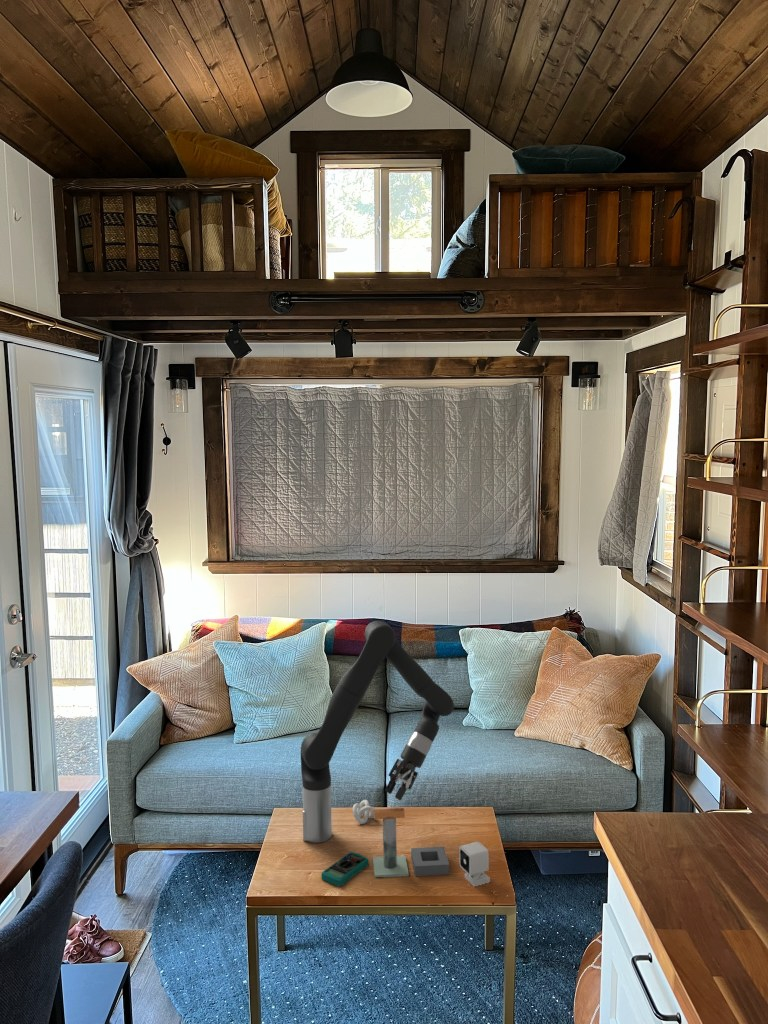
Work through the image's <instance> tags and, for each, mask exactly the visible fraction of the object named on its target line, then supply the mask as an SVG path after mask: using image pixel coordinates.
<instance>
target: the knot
mask: <svg viewBox="0 0 768 1024" xmlns="http://www.w3.org/2000/svg"><path fill="white" fill-rule="evenodd" d="M374 810H376V809H375V808H374V807H373V806H370V802H369V800H367V799H363V800H361V802H360V803H357V802H356V803H354V804H353V806H352V814H353V817H354V820H356V822H357V823H358V824H361V825H364V824H366V823H367V821H368V819H374ZM362 815H363V818H361V817H362Z"/></svg>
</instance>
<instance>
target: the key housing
mask: <svg viewBox="0 0 768 1024" xmlns="http://www.w3.org/2000/svg"><path fill="white" fill-rule="evenodd" d="M410 855H411V856H410V860H411V862H412V863H411V864H412V868H413V872H414V876H415V877H420V876H421V877H425V876H439V875H441V876H443V875H450V862H449V858H448V856H447V855H448V854H447V853H446V849H445V846H427V847H425V846H424V847H411V848H410Z"/></svg>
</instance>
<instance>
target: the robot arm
mask: <svg viewBox="0 0 768 1024" xmlns="http://www.w3.org/2000/svg"><path fill="white" fill-rule="evenodd" d="M364 639H365V644H364V646H363V648H362V651H361V652H360V654H359V657H358V658H357V660H355V662H354V663H353V664H352V665H351V666H350V668H348V670H346V672H345V673H344V674H343V676H342V677H341V678H340V680H339V682H338V683H337V685H336V687H335V689H334V691H333V692H332V695H331V697H330V700H329V703H328V705H327V709H326V713H325V716H324V719H323V723H322V724H321V727H320V729H319V730H318V731H317V732H312V733H310V734H308V735H306V736H305V737H304V738H303V740H302V742H301V745H300V771H301V779H302V781H301V782H302V783H301V784H302V837H303V838H302V841H303V842H304V841H305V842H309V843H324V842H326V841H328V840H330V839H331V838H332V835H333V833H332V832H333V827H332V826H333V825H332V824H333V823H332V776H331V770H330V769H331V768H330V762H331V760H332V759H333V756H334V753H335V752H336V749H337V746H338V744H339V742H340V740H341V737H342V735H343V733H344V732H345V730H346V729H347V726H348V724H349V723H350V721H352V720H351V719H352V718H353V716H354V714H355V713H356V711H357V710H358V707H359V706H360V704H361V703H362V701H363V699H364V696H365V694H366V692H368V689H369V687H370V685H371V683H372V681H373V679H374V676H375V675H376V673H377V671H378V669H379V668H380V666H381V664H382V663H383V661H384V660H385V658H386V660H388V661H389V663H390V664H391V665H392V666H393V667H394V668H395V669H396V671H397V672H398V673H399V675H400V676H401V677H402V679H403V680H404V681H405V683H407V685H408V686H409V687H410V688H411V689H412V690H413V692H414V693H415V694H416V695H417V696H418V697H420V698H422V699H424V700H425V702H424V705H423V707H422V711H421V714H420V720H419V721H418V722H417V725H416V727H415V728H414V731H413V732H412V733H411V735H410V737H409V738H408V740H407V742H406V744H405V746H404V748H403V750H402V752H400V753H401V754H400V758H401V759H402V760H401V759H399V758H397V759H396V760H395V762H394V764H393V766H392V767H391V769H390V771H389V773H388V777H389V782H388V783H387V786H386V788H385V789H384V791H385V792H386V793H387V794H389V795H391V794H392V793H393V791H394V789H395V787H396V786H397V783H398V782H399V781H401V782H400V786H399V788H398V790H397V791H396V793H395V795H394V796H395V797H394V798H395V799H397V800H399V801H402V799H403V797H404V795H405V794H406V791H408V790H409V791H410V790H412V787H413V786H414V783H415V781H416V779H417V777H418V776H419V775H418V774H419V772H418V771H416V768H418V769H420V768H422V766H423V765H424V762H425V760H426V758H427V756H428V754H429V752H430V750H431V748H432V745H433V743H434V740H435V739H436V737H437V734H438V733H439V729H440V726H439V724H438V722H439V719H440V717H447V716H450V715H451V714H452V713H453V711H454V708H455V703H454V699H453V698H452V697H451V695H450V694H448V692H447V691H446V690H444V689H443V688H442V687H441V686H440V685H438V684H437V683H436V682H435V681H434V680H433V679H432V678H431V676H430V675H429V674H428V673H427V672H426V670H425V669H423V667H422V665H420V664H419V663H418V662H417V661H416V660H415V659H414V658H413V657H411V655H410V654H409V653H408V652H407V651H406V650H405V649H404V648H403V646H402V645H401V643H400V642H398V639H397V638H396V633H395V631H394V629H393V628H392V627H391V626H390V625H389V624H388V623H387V622H385V621H383V620H373V621H371V622H369V623H368V624H367V626H366V627H365V630H364Z"/></svg>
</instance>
